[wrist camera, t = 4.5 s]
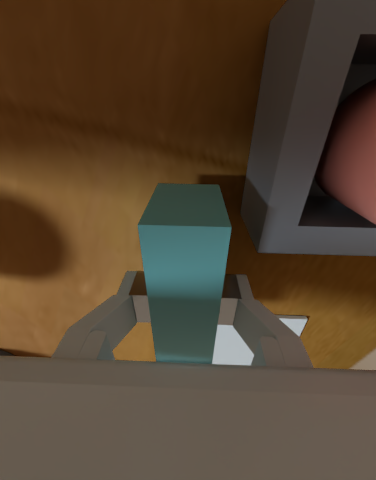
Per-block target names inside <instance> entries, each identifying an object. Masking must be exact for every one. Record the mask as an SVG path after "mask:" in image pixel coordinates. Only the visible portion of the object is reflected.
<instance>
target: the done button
mask: <svg viewBox="0 0 376 480" xmlns="http://www.w3.org/2000/svg"><path fill="white" fill-rule="evenodd" d="M314 178H315V181H316V183H317V184H318V186H319V187H320V189H321V190H322V191H323V192H324V193H326V194H327V195H328V196H330V197H332V198H333V199H335V200H337V201H338V202H340V203H341V204H343V205H345V206H346V207H348V208H349V209H351V210H353V211H354V212H356V213H358V214H359V215H361V216H362V217H364V218H366V219H367V220H369V221H370V222H372V223H374V224H375V225H376V79H374V80H372V81H370V82H368V83H366V84H365V85H363V86H361V87H360V88H358V89H357V90H356V91H354V92H353V93H352V94H350V95H349V96H348V97H347V98H346V99H345V100H344V101H343V102H341V104H340V105H339V106H338V107H337V108H336V110H335V113H334V116H333V119H332V123H331V126H330V129H329V132H328V135H327V138H326V141H325V144H324V147H323V150H322V153H321V156H320V159H319V162H318V165H317V169H316V172H315V175H314Z"/></svg>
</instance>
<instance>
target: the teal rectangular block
mask: <svg viewBox="0 0 376 480" xmlns="http://www.w3.org/2000/svg"><path fill="white" fill-rule="evenodd" d="M231 228H232V227H231V224H230V220H229V217H228V213H227V210H226V207H225V203H224V200H223V197H222V193H221V190H220V187H219V185H211V184H164V183H158V185H157V187H156V189H155V191H154V193H153V195H152V197H151V199H150V201H149V203H148V205H147V207H146V209H145V211H144V213H143V215H142V217H141V219H140V221H139V223H138V231H139V238H140V245H141V253H142V260H143V267H144V275H145V282H146V289H147V297H148V304H149V311H150V319H151V326H152V333H153V341H154V348H155V355H156V362H174V363H200V364H212V360H213V353H214V346H215V339H216V332H217V326H218V319H219V312H220V305H221V298H222V291H223V284H224V277H225V270H226V263H227V256H228V249H229V242H230V235H231Z"/></svg>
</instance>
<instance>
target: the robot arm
mask: <svg viewBox="0 0 376 480" xmlns="http://www.w3.org/2000/svg"><path fill="white" fill-rule="evenodd" d="M137 322H151V319H150V311H149V304H148V297H147V289H146V282H145V275H144V271H127V272H126V274H125V276H124V278H123V281H122V283H121V285H120V288H119V290H118V292H117V295H113V296H111V297H110V298H109V299H107V300H106V301H105V302H103V303H102V304H101V305H99V306H98V307H96V308H95V309H94V310H92V311H91V312H90V313H88V314H87V315H86V316H84V317H83V318H82V319H80V320H79V321H78V322H76V323H75V324H73V325H72V326H71V327H69V328H68V330H67V331H66V333H65V335H64V337H63V338H62V340H61V342H60V343H59V345H58V347H57V349H56V350H55V352H54V354H53V355H52V357H51V358H47V357H22V356H0V480H376V370H354V369H329V368H314V367H313V365H312V363H311V361H310V359H309V356H308V354H307V352H306V350H305V348H304V345H303V343H302V341H301V339H300V337H299V336H298V335H297V334H296V333H295V332H293V331H292V330H291V329H290V328H289V327H288V326H287V325H285V324H284V323H283V322H282V321H281V320H280V319H279V318H277V317H276V316H275V315H274V314H273V313H272V312H271V311H269V310H268V309H267V308H266V307H265V306H264V305H263V304H262V303H260V302H259V301H258V300H254V297H253V294H252V291H251V288H250V285H249V281H248V278H247V275H246V274H225V277H224V284H223V291H222V298H221V305H220V312H219V319H218V325H232V326H233V327H234V328H235V330H236V331H237V333H238V334H239V335H240V337H241V338H242V339H243V341H244V342H245V343H246V345H247V346H248V347H249V349H250V350H251V351H252V353H253V354H254V357H253V360H252V363H251V365H226V364H200V363H174V362H149V361H123V360H115V358H114V355H113V352H112V351H113V349H114V348H115V347H116V346H117V345H118V344H119V343H120V342H121V340H122V339H123V338H124V337H125V336H126V335H127V334H128V333H129V331H130V330H131V329H132V328H133V327H134V326H135V325H136V323H137Z"/></svg>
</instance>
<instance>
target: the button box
mask: <svg viewBox="0 0 376 480" xmlns="http://www.w3.org/2000/svg"><path fill="white" fill-rule="evenodd" d="M374 79H376V0H287V1H286V2H285V4H284V5H283V6H282V7H281V9H280V10H279V11H278V12H277V14H276V15H275V16H274V17H273V18H272V20H271V21H270V26H269V32H268V38H267V45H266V51H265V58H264V64H263V70H262V77H261V83H260V89H259V96H258V102H257V109H256V115H255V121H254V128H253V134H252V141H251V147H250V153H249V160H248V166H247V173H246V179H245V185H244V192H243V198H242V204H241V211H240V214H241V217H242V219H243V221H244V223H245V226H246V228H247V230H248V232H249V235H250V237H251V239H252V241H253V244H254V246H255V248H256V250H257V253H284V254H319V255H355V256H376V225H375V224H374V223H372V222H370V221H369V220H367V219H366V218H364V217H362V216H361V215H359V214H358V213H356V212H354V211H353V210H351V209H349V208H348V207H346V206H345V205H343V204H341V203H340V202H338V201H337V200H335V199H333V198H332V197H330V196H328V195H327V194H326V193H324V192H323V191H322V190H321V189H320V187H319V186H318V184H317V183H316V181H315V178H314V175H315V172H316V169H317V165H318V162H319V159H320V156H321V153H322V150H323V147H324V144H325V141H326V138H327V135H328V132H329V129H330V126H331V123H332V119H333V116H334V113H335V110H336V108H337V107H338V106H339V105H340V104H341V102H343V101H344V100H345V99H346V98H347V97H348V96H349V95H350V94H352V93H353V92H354V91H356V90H357V89H358V88H360V87H361V86H363V85H365V84H366V83H368V82H370V81H372V80H374Z"/></svg>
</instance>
